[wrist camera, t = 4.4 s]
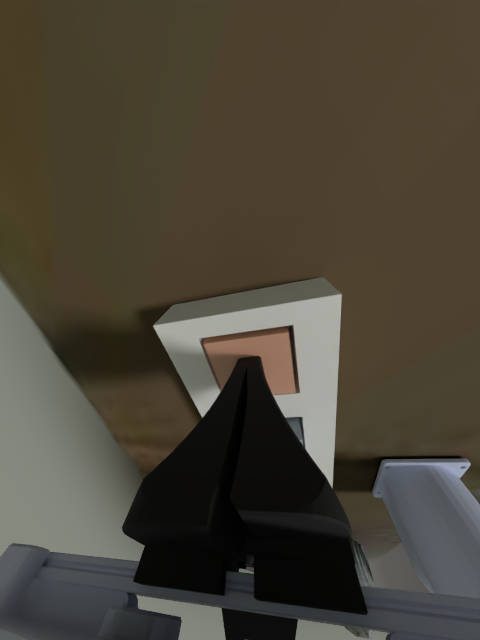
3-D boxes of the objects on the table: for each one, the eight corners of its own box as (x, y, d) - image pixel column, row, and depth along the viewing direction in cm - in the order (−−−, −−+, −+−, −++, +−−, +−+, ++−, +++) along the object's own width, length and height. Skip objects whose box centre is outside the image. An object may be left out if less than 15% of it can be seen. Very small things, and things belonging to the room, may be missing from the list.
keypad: (323, 465, 22) (332, 496, 19) (244, 465, 24) (243, 494, 21) (322, 277, 11) (341, 294, 8) (173, 304, 13) (152, 325, 10)
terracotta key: (290, 370, 13) (295, 392, 12) (229, 376, 14) (225, 398, 12) (283, 314, 11) (288, 332, 9) (211, 325, 12) (203, 344, 10)
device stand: (305, 547, 43) (326, 690, 30) (296, 565, 54) (309, 676, 41) (214, 536, 45) (196, 665, 32) (223, 556, 56) (213, 657, 43)
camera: (364, 545, 37) (397, 644, 28) (330, 544, 39) (351, 637, 30) (351, 522, 31) (387, 639, 22) (312, 522, 33) (331, 631, 24)
